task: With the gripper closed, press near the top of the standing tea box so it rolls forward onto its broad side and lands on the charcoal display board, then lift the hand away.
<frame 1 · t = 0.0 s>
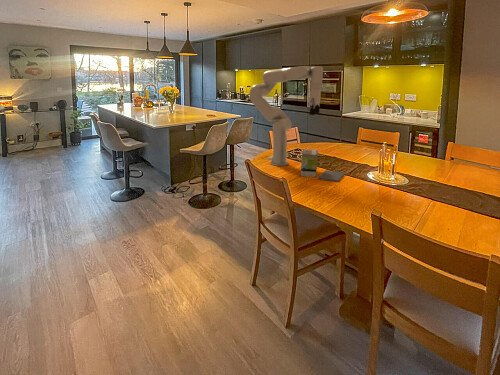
hand: (314, 114, 225), 37 cm above the table, tool pointing down, fingers open, 9 cm apart
tea box: (308, 173, 225), on the table
display board: (331, 176, 218), on the table
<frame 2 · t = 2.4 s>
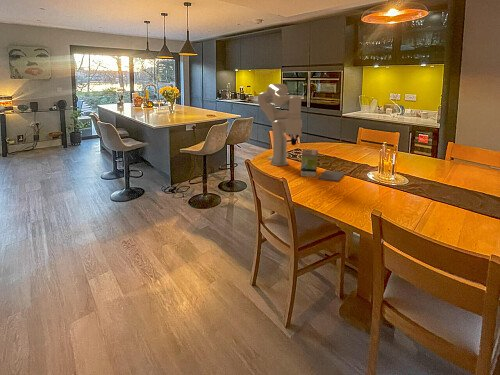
hand: (293, 144, 224), 18 cm above the table, tool pointing down, fingers closed
nothing on the table moved.
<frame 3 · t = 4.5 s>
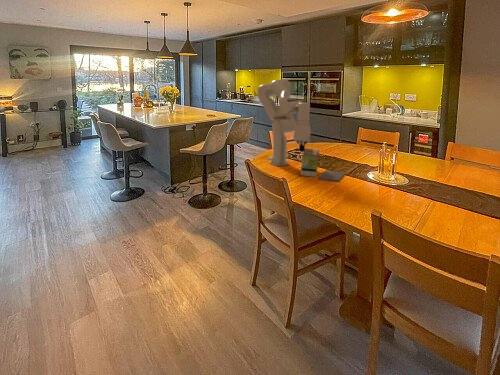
hand: (301, 151, 222), 14 cm above the table, tool pointing down, fingers closed
tea box: (308, 173, 225), on the table, touching gripper
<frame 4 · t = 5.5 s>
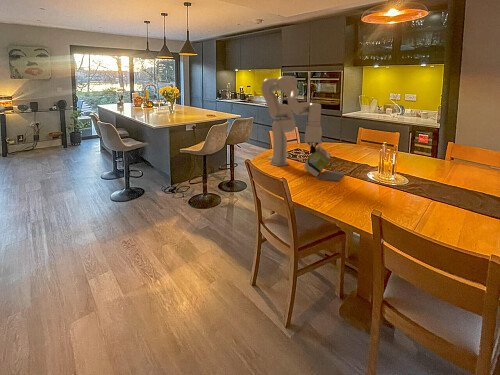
hand: (312, 152, 219), 14 cm above the table, tool pointing down, fingers closed
tea box: (310, 169, 224), point 3 cm above the table, touching gripper
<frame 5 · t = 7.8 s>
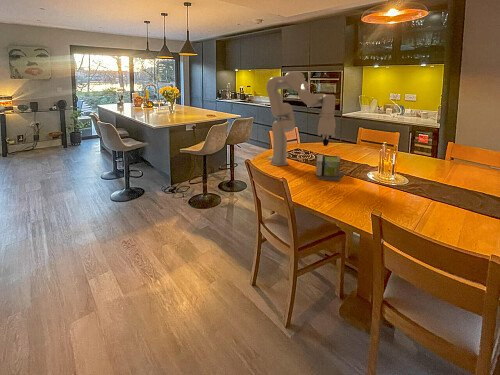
hand: (325, 145, 214), 20 cm above the table, tool pointing down, fingers closed
tea box: (316, 165, 222), point 6 cm above the table, touching display board
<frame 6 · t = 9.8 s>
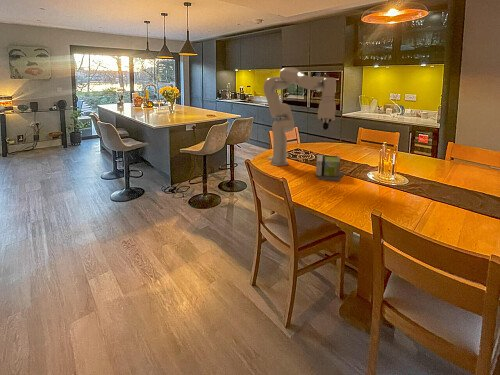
hand: (325, 129, 213), 29 cm above the table, tool pointing down, fingers closed
nothing on the table moved.
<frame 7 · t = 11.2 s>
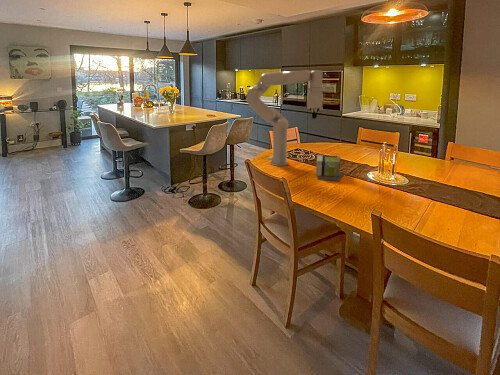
hand: (314, 118, 232), 33 cm above the table, tool pointing down, fingers closed
nothing on the table moved.
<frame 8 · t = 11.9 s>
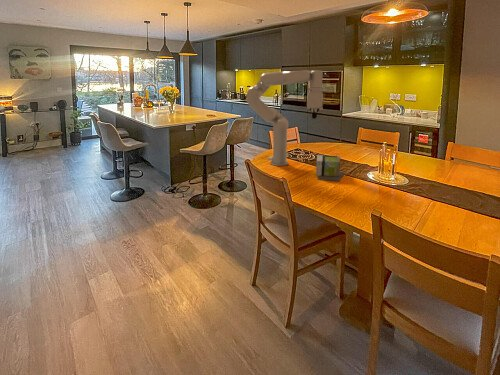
hand: (314, 118, 232), 33 cm above the table, tool pointing down, fingers closed
nothing on the table moved.
at the end: tea box tilted 89°; tea box inside the target area (5.9 cm from its centre), point 5.8 cm above the table; tea box touching display board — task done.
